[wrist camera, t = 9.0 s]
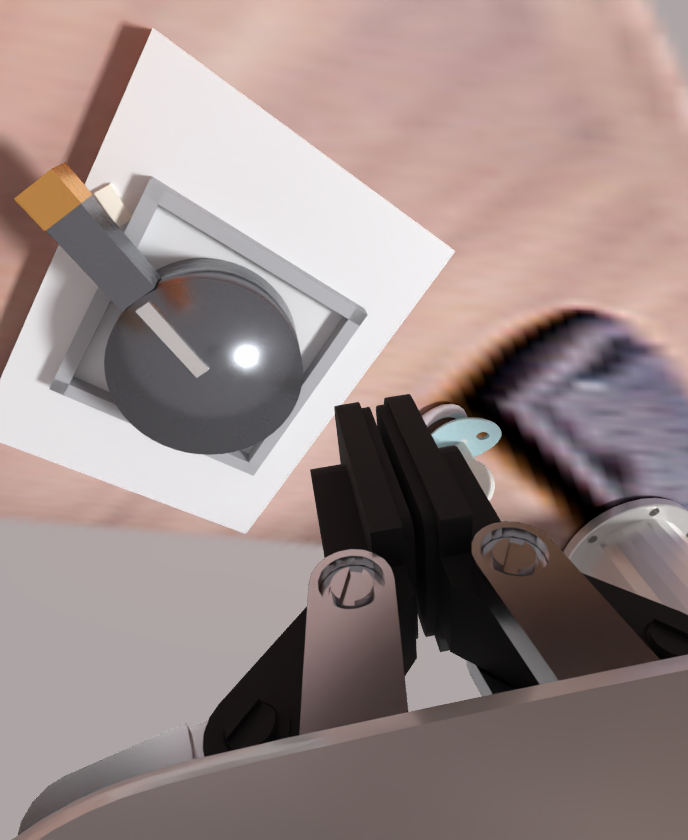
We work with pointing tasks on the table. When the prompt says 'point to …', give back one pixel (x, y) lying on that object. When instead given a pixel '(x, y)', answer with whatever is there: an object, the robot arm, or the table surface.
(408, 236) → the panel
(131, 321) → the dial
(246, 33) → the table surface
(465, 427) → the pacifier
